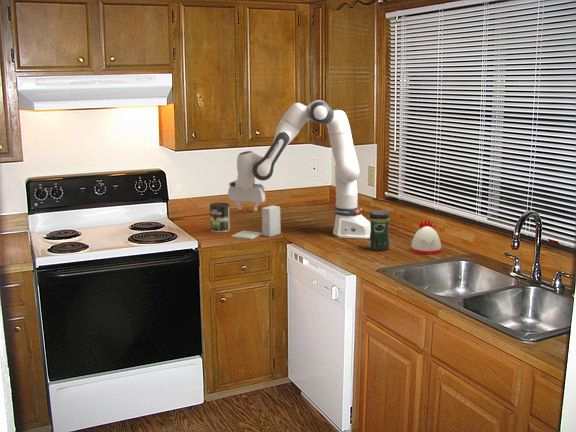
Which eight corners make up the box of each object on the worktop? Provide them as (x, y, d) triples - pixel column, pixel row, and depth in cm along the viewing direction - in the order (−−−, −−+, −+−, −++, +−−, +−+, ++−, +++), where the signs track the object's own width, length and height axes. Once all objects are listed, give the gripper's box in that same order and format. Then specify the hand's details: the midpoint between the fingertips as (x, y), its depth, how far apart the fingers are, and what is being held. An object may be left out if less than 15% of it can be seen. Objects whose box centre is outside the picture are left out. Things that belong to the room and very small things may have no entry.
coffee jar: (389, 246, 313) (390, 208, 309) (389, 251, 305) (390, 212, 301) (369, 246, 314) (369, 208, 310) (368, 250, 307) (369, 211, 303)
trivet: (263, 234, 340) (263, 232, 340) (251, 239, 329) (251, 237, 329) (243, 231, 345) (243, 230, 345) (231, 236, 335) (231, 235, 334)
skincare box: (273, 232, 343) (272, 204, 340) (281, 234, 339) (281, 206, 336) (261, 235, 337) (261, 207, 334) (269, 237, 333) (269, 208, 330)
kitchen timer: (409, 246, 313) (410, 215, 310) (439, 246, 312) (440, 216, 308) (412, 254, 300) (413, 222, 296) (442, 254, 298) (444, 222, 295)
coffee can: (223, 233, 342) (222, 207, 339) (207, 231, 347) (206, 205, 344) (233, 229, 351) (232, 203, 348) (217, 227, 356) (216, 201, 353)
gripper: (267, 183, 329) (267, 210, 332) (232, 181, 339) (233, 207, 341) (261, 185, 324) (261, 212, 327) (226, 183, 333) (227, 209, 336)
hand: (247, 209), depth 334 cm, fingers open, 8 cm apart
